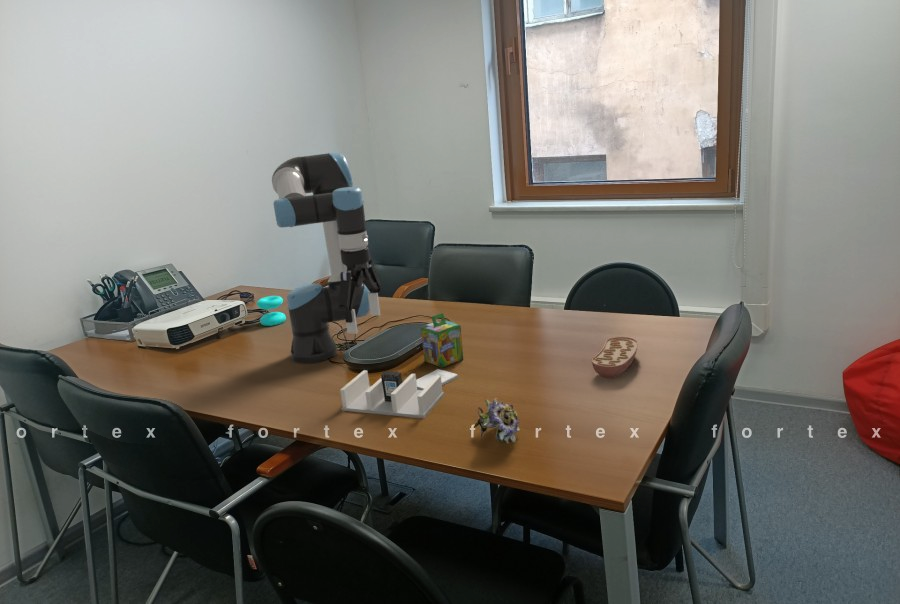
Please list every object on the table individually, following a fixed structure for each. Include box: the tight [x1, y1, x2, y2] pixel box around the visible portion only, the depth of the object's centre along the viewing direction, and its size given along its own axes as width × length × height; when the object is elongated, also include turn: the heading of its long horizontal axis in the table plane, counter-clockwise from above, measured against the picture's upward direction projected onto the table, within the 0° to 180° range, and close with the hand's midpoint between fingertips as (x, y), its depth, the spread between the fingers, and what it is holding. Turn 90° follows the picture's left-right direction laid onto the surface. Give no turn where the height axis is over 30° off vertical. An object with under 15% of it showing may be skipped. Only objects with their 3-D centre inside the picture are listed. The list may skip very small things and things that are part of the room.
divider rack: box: [339, 369, 445, 419], centre depth 170 cm, size 14×24×6 cm, turn 69°
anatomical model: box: [591, 336, 639, 379], centre depth 179 cm, size 23×10×5 cm, turn 151°
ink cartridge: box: [380, 370, 403, 402], centre depth 169 cm, size 5×2×8 cm, turn 68°
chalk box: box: [420, 312, 464, 368], centre depth 194 cm, size 9×9×15 cm
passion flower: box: [473, 397, 521, 445], centre depth 146 cm, size 11×11×12 cm
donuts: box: [256, 295, 287, 327], centre depth 249 cm, size 10×10×10 cm
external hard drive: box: [416, 368, 459, 390], centre depth 181 cm, size 2×8×12 cm
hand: (364, 323), depth 172 cm, fingers open, 13 cm apart
